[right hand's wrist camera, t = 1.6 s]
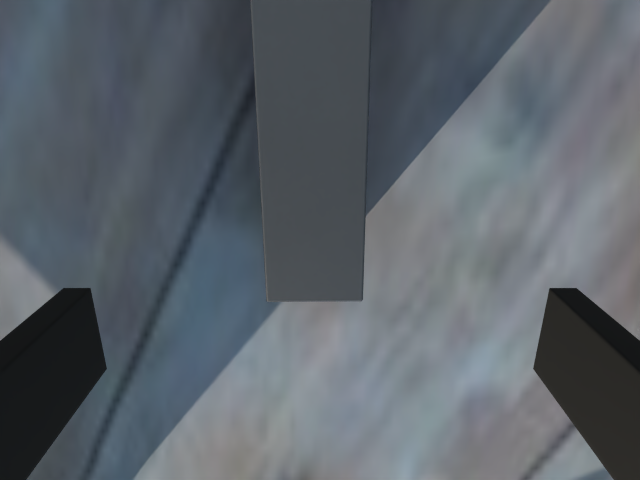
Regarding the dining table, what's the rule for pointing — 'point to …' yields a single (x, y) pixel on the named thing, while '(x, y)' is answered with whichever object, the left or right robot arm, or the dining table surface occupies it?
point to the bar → (312, 144)
